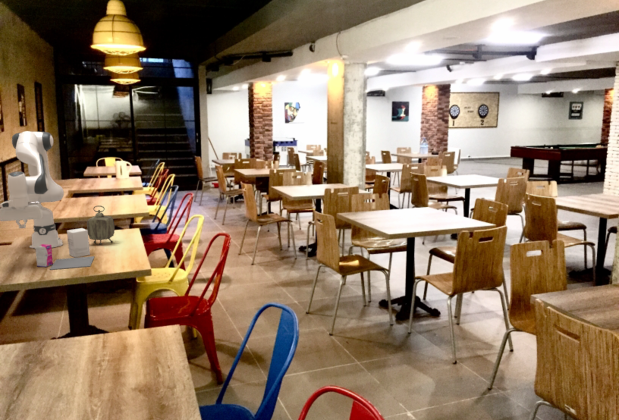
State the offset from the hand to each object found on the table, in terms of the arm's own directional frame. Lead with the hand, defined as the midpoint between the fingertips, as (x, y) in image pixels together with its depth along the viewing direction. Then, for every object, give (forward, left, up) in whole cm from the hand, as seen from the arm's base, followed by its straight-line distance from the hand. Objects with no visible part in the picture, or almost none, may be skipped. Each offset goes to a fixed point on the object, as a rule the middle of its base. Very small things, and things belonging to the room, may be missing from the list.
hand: (22, 228), depth 275 cm
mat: (0, +23, -22) cm, 32 cm away
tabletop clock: (-41, +34, -22) cm, 58 cm away
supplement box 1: (0, +9, -22) cm, 24 cm away
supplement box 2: (-18, +24, -22) cm, 37 cm away
